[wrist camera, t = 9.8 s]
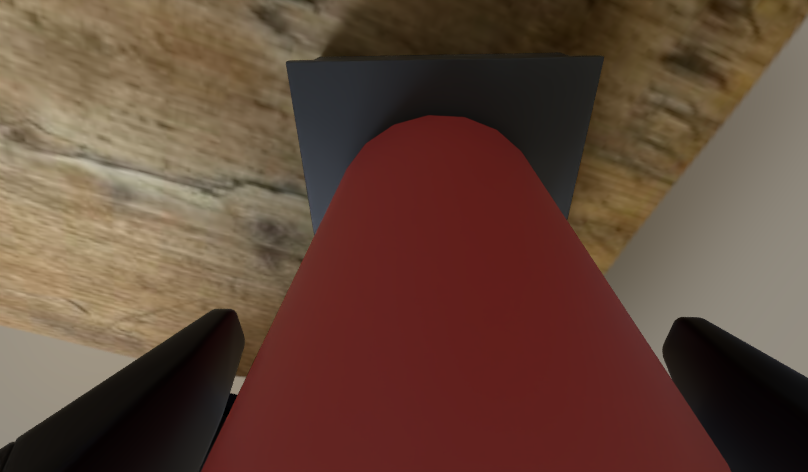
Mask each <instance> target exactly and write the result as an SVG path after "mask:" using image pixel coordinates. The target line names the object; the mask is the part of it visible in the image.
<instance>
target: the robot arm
mask: <svg viewBox="0 0 808 472" xmlns="http://www.w3.org/2000/svg"><path fill="white" fill-rule="evenodd" d="M244 344H245V338H244V334H243V331H242V328H241V325H240V322H239V319H238V316H237V313H236V312H235V311H234V310H232V309H214V310H212V311H210V312H208V313H207V314H205V315H204V316H202V317H201V318H199V319H198V320H196V321H195V322H193V323H192V324H190V325H188V326H187V327H185V328H184V329H182V330H181V331H179V332H178V333H176V334H175V335H173V336H172V337H170V338H169V339H167V340H166V341H164V342H163V343H161V344H160V345H158V346H157V347H155V348H154V349H152V350H150V351H149V352H147V353H146V354H144V355H143V356H141V357H140V358H138V359H137V360H135V361H134V362H132V363H131V364H129V365H128V366H126V367H125V368H123V369H122V370H120V371H119V372H117V373H116V374H114V375H113V376H111V377H109V378H108V379H106V380H105V381H103V382H102V383H100V384H99V385H97V386H96V387H94V388H93V389H91V390H90V391H88V392H87V393H85V394H84V395H82V396H81V397H79V398H78V399H76V400H75V401H73V402H72V403H70V404H68V405H67V406H66V407H64V408H62V409H61V410H59V411H58V412H56V413H55V414H53V415H52V416H50V417H49V418H47V419H46V420H44V421H43V422H41V423H40V424H38V425H36V426H35V427H34V428H32V429H30V430H29V431H27V432H26V433H24V434H23V435H21V436H20V437H18V438H17V440H16V441H15V442H11V443H9V444H7V445H6V446H4V447H3V448H1V449H0V472H201V470H202V468H203V466H204V464H205V462H206V460H207V458H208V456H209V454H210V451H211V449H212V447H213V445H214V443H215V441H216V439H217V437H218V435H219V433H220V431H221V429H222V427H223V425H224V422H225V420H226V418H227V416H228V414H229V412H230V411H224V410H225V407H226V404H227V400H228V397H229V394H230V391H231V388H232V384H233V381H234V378H235V375H236V372H237V368H238V365H239V362H240V359H241V356H242V352H243V349H244ZM662 350H663V351H662V352H663V358H664V361H665V363H666V365H667V368H668V371H669V373H670V375H671V378H672V381H673V382H674V384H675V385H676V387H677V388H678V390H679V391H680V393H681V394H682V396H683V397H684V399H685V400H686V402H687V403H688V405H689V406H690V408H691V409H692V411H693V412H694V414H695V415H696V417H697V418H698V420H699V422H700V423H701V425H702V426H703V428H704V429H705V431H706V432H707V434H708V435H709V437H710V438H711V440H712V441H713V443H714V444H715V446H716V447H717V449H718V450H719V452H720V453H721V455H722V456H723V458H724V459H725V461H726V462H727V464H728V466H729V468H730V470H731V472H808V378H807V377H805V376H804V375H802V374H800V373H798V372H796V371H795V370H793V369H791V368H790V367H788V366H786V365H784V364H782V363H780V362H779V361H777V360H775V359H773V358H772V357H770V356H768V355H767V354H765V353H763V352H761V351H760V350H758V349H756V348H754V347H752V346H751V345H749V344H747V343H746V342H743V341H742V340H740V339H739V338H737V337H735V336H733V335H732V334H730V333H728V332H726V331H724V330H722V329H721V328H719V327H717V326H716V325H714V324H712V323H710V322H709V321H707V320H705V319H703V318H697V317H680V318H678V319H677V320H675V321H674V323H673V325H672V327H671V330H670V332H669V334H668V336H667V338H666V340H665V342H664V345H663V349H662Z"/></svg>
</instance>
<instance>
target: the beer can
mask: <svg viewBox="0 0 808 472" xmlns="http://www.w3.org/2000/svg"><path fill="white" fill-rule="evenodd" d="M201 472H731V470H730V468H729V466H728V464H727V462H726V461H725V459H724V458H723V456H722V455H721V453H720V452H719V450H718V449H717V447H716V446H715V444H714V443H713V441H712V440H711V438H710V437H709V435H708V434H707V432H706V431H705V429H704V428H703V426H702V425H701V423H700V422H699V420H698V418H697V417H696V415H695V414H694V412H693V411H692V409H691V408H690V406H689V405H688V403H687V402H686V400H685V399H684V397H683V396H682V394H681V393H680V391H679V390H678V388H677V387H676V385H675V384H674V382H673V381H672V379H671V378H670V376H669V375H668V373H667V372H666V370H665V368H664V367H663V365H662V364H661V362H660V361H659V359H658V358H657V356H656V355H655V353H654V352H653V350H652V349H651V347H650V346H649V344H648V343H647V341H646V340H645V338H644V337H643V335H642V334H641V332H640V331H639V329H638V327H637V326H636V324H635V323H634V321H633V320H632V318H631V317H630V315H629V314H628V313H627V311H626V309H625V308H624V306H623V305H622V303H621V302H620V300H619V299H618V297H617V296H616V294H615V293H614V291H613V290H612V288H611V287H610V285H609V284H608V282H607V280H606V279H605V277H604V276H603V274H602V273H601V271H600V270H599V268H598V267H597V265H596V264H595V262H594V261H593V259H592V258H591V256H590V255H589V253H588V252H587V250H586V249H585V247H584V246H583V244H582V243H581V241H580V240H579V238H578V236H577V235H576V233H575V232H574V230H573V229H572V227H571V226H570V224H569V223H568V221H567V220H566V218H565V217H564V215H563V214H562V212H561V211H560V209H559V208H558V206H557V205H556V203H555V202H554V200H553V199H552V197H551V196H550V194H549V193H548V191H547V189H546V188H545V186H544V185H543V183H542V182H541V180H540V179H539V177H538V176H537V174H536V173H535V171H534V170H533V168H532V167H531V165H530V164H529V162H528V161H527V159H526V158H525V156H524V155H523V153H522V152H521V151H520V150H519V149H518V148H517V147H516V146H515V145H513V144H512V143H511V142H510V141H509V140H508V139H507V138H505V137H504V136H503V135H502V134H501V133H500V132H499V131H498V130H496V129H493V128H491V127H488V126H486V125H483V124H481V123H478V122H476V121H473V120H471V119H468V118H466V117H454V116H435V115H427V116H424V117H420V118H416V119H413V120H409V121H405V122H402V123H398V124H394V125H393V126H391V127H390V128H388V129H387V130H385V131H384V132H382V133H381V134H379V135H378V136H376V137H375V138H373V139H372V140H370V141H369V142H367V143H366V144H365V145H364V147H363V148H362V149H361V150H360V152H359V153H358V154H357V156H356V157H355V158H354V160H353V161H352V162H351V164H350V165H349V166H348V168H347V169H346V171H345V173H344V176H343V178H342V180H341V182H340V184H339V186H338V188H337V190H336V192H335V194H334V196H333V198H332V200H331V202H330V205H329V207H328V209H327V211H326V213H325V215H324V217H323V219H322V221H321V223H320V225H319V227H318V229H317V232H316V234H315V236H314V238H313V240H312V242H311V244H310V246H309V248H308V250H307V252H306V254H305V256H304V259H303V261H302V263H301V265H300V267H299V269H298V271H297V273H296V275H295V277H294V279H293V281H292V283H291V285H290V288H289V290H288V292H287V294H286V296H285V298H284V300H283V302H282V304H281V306H280V308H279V310H278V312H277V315H276V317H275V319H274V321H273V323H272V325H271V327H270V329H269V331H268V333H267V335H266V337H265V339H264V342H263V344H262V346H261V348H260V350H259V352H258V354H257V356H256V358H255V360H254V362H253V364H252V366H251V368H250V371H249V373H248V375H247V377H246V379H245V381H244V383H243V385H242V387H241V389H240V391H239V394H238V395H237V398H236V400H235V402H234V404H233V406H232V408H231V410H230V412H229V414H228V416H227V418H226V420H225V422H224V425H223V427H222V429H221V431H220V433H219V435H218V437H217V439H216V441H215V443H214V445H213V447H212V449H211V451H210V454H209V456H208V458H207V460H206V462H205V464H204V466H203V468H202V470H201Z"/></svg>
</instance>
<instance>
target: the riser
mask: <svg viewBox="0 0 808 472" xmlns="http://www.w3.org/2000/svg"><path fill="white" fill-rule="evenodd" d="M603 61H604V56H600V55H591V56H568V55H565V54H562V53H515V54H457V55H399V56H340V57H319V58H317V59H315V60H293V61H287V62H286V67H287V73H288V79H289V85H290V91H291V97H292V103H293V109H294V115H295V121H296V128H297V134H298V140H299V146H300V152H301V158H302V164H303V170H304V176H305V182H306V188H307V194H308V200H309V206H310V212H311V218H312V225H313V231H314V236H315V234H316V232H317V229H318V227H319V225H320V223H321V221H322V219H323V217H324V215H325V213H326V211H327V209H328V207H329V205H330V202H331V200H332V198H333V196H334V194H335V192H336V190H337V188H338V186H339V184H340V182H341V180H342V178H343V176H344V173H345V171H346V169H347V168H348V166H349V165H350V164H351V162H352V161H353V160H354V158H355V157H356V156H357V154H358V153H359V152H360V150H361V149H362V148H363V147H364V145H365V144H366V143H367V142H369V141H370V140H372V139H373V138H375V137H376V136H378V135H379V134H381V133H382V132H384V131H385V130H387V129H388V128H390V127H391V126H393V125H394V124H398V123H402V122H405V121H409V120H413V119H416V118H420V117H424V116H427V115H435V116H454V117H466V118H468V119H471V120H473V121H476V122H478V123H481V124H483V125H486V126H488V127H491V128H493V129H496V130H498V131H499V132H500V133H501V134H502V135H503V136H504V137H505V138H507V139H508V140H509V141H510V142H511V143H512V144H513V145H515V146H516V147H517V148H518V149H519V150H520V151H521V152H522V153H523V155H524V156H525V158H526V159H527V161H528V162H529V164H530V165H531V167H532V168H533V170H534V171H535V173H536V174H537V176H538V177H539V179H540V180H541V182H542V183H543V185H544V186H545V188H546V189H547V191H548V193H549V194H550V196H551V197H552V199H553V200H554V202H555V203H556V205H557V206H558V208H559V209H560V211H561V212H562V214H563V215H564V217H565V218H566V220H567V219H568V214H569V210H570V205H571V201H572V197H573V192H574V188H575V183H576V179H577V175H578V170H579V166H580V162H581V157H582V153H583V148H584V144H585V140H586V135H587V131H588V126H589V122H590V118H591V113H592V109H593V105H594V100H595V96H596V91H597V87H598V83H599V78H600V74H601V69H602V65H603Z"/></svg>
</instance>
